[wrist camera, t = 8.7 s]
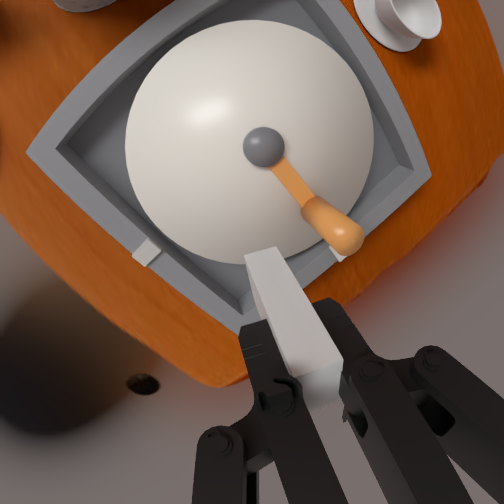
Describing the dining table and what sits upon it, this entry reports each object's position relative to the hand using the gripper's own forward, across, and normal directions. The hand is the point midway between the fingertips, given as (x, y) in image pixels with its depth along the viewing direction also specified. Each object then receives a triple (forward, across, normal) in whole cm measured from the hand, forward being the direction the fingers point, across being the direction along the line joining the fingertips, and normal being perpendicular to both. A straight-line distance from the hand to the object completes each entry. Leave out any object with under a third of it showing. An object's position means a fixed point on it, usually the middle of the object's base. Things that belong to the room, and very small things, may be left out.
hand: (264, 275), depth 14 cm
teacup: (+16, +21, +16) cm, 31 cm away
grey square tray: (+15, +3, +3) cm, 15 cm away
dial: (+12, +3, +3) cm, 13 cm away
